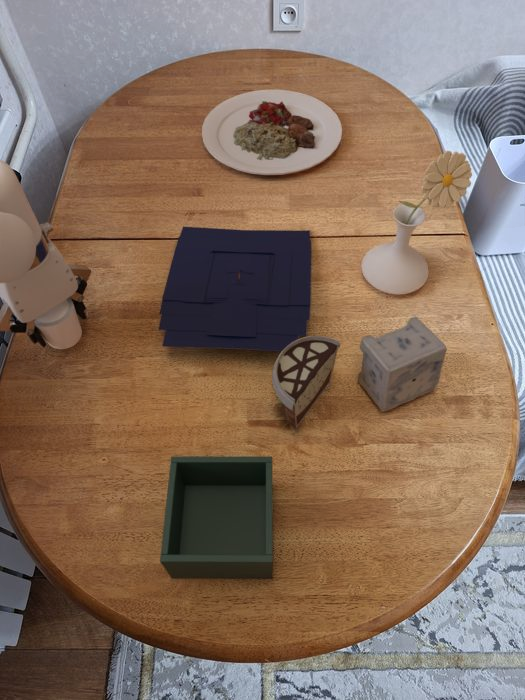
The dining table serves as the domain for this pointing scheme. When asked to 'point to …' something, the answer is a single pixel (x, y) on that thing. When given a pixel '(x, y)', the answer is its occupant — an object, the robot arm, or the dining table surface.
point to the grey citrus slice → (303, 375)
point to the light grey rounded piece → (60, 325)
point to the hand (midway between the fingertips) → (60, 327)
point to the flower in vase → (398, 257)
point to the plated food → (271, 132)
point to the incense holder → (401, 364)
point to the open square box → (219, 518)
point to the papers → (237, 289)
